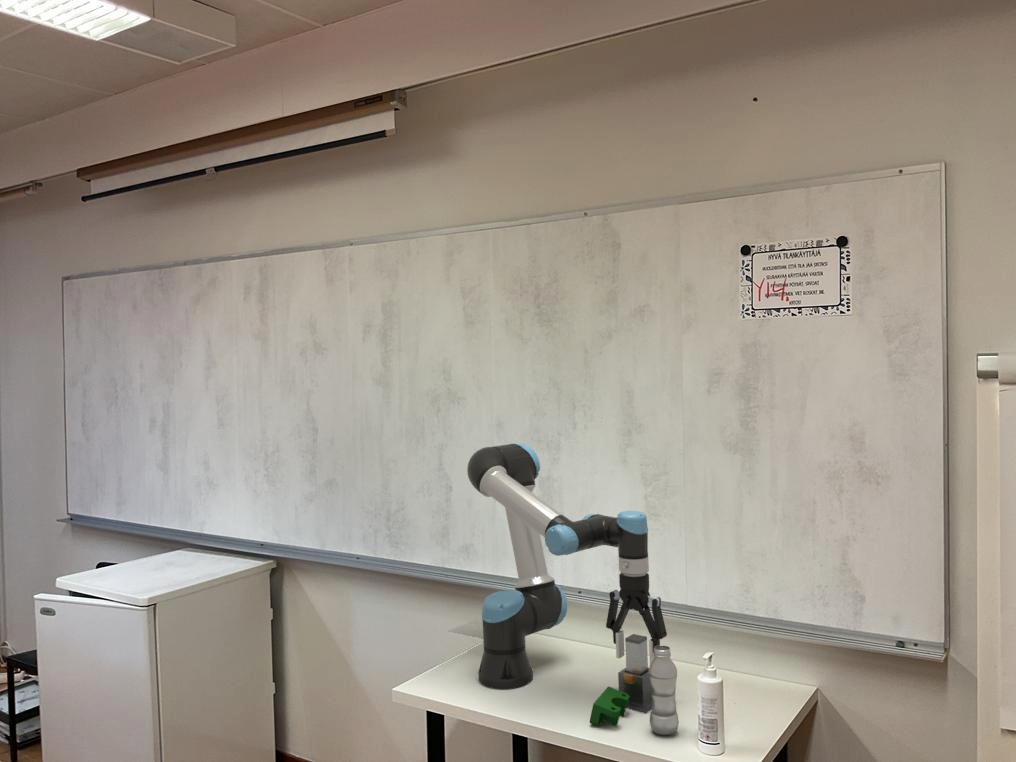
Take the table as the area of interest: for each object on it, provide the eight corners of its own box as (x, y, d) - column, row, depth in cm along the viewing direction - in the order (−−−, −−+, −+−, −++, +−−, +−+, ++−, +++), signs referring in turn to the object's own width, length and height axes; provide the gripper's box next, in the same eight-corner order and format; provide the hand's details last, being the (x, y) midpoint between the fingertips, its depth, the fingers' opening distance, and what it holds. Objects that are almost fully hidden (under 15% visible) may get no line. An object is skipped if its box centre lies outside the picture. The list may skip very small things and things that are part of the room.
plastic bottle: (651, 725, 197) (648, 642, 197) (680, 727, 196) (677, 644, 195) (648, 737, 191) (645, 651, 191) (677, 740, 189) (675, 653, 189)
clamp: (611, 744, 198) (614, 718, 193) (588, 734, 200) (590, 708, 196) (629, 708, 207) (632, 682, 203) (607, 699, 209) (609, 673, 205)
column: (626, 695, 211) (624, 638, 210) (634, 690, 214) (633, 633, 214) (641, 699, 208) (639, 641, 208) (649, 693, 211) (647, 636, 211)
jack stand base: (611, 704, 210) (610, 671, 210) (631, 691, 218) (630, 659, 218) (645, 713, 204) (644, 680, 204) (665, 699, 212) (664, 667, 212)
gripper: (590, 570, 214) (592, 656, 215) (665, 582, 201) (668, 674, 201) (605, 564, 220) (608, 648, 221) (679, 575, 206) (682, 664, 207)
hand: (636, 660), depth 211 cm, fingers open, 9 cm apart
